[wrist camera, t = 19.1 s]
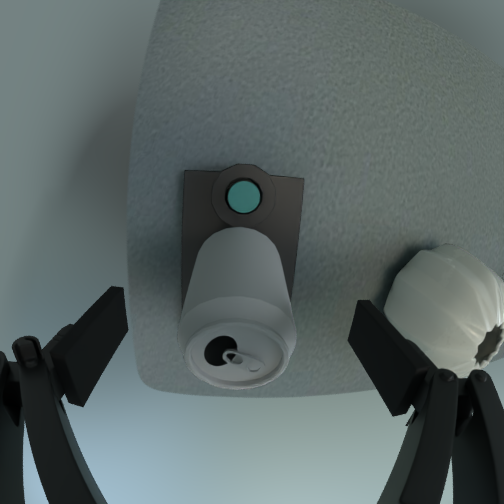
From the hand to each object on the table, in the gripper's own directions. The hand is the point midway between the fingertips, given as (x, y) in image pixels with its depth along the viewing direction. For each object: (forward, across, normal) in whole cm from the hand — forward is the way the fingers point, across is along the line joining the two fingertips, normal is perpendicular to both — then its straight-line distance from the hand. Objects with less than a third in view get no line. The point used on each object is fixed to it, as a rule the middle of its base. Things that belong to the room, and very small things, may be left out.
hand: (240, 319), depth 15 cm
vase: (+13, +22, -4) cm, 26 cm away
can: (+12, 0, 0) cm, 12 cm away
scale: (+13, 0, 0) cm, 13 cm away
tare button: (+11, 0, +6) cm, 13 cm away
